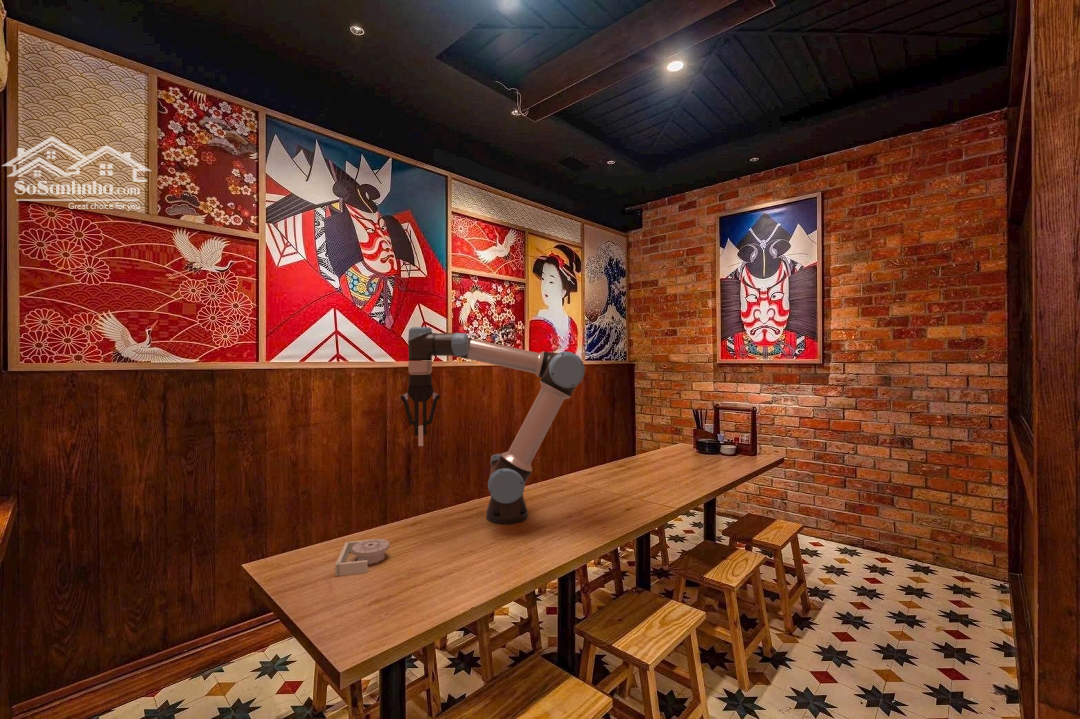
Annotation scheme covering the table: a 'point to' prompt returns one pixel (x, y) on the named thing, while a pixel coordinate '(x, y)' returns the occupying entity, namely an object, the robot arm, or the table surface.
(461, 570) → the table surface
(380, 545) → the mechanical component
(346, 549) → the u-shaped bracket
